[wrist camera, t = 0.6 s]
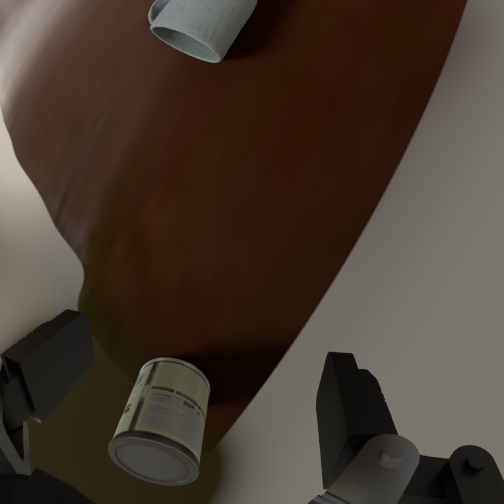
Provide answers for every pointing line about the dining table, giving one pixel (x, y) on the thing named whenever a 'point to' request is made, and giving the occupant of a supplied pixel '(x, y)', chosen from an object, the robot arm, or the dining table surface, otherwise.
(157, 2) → the ceramic mug
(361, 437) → the robot arm
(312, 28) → the dining table surface
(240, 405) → the dining table surface
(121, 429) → the coffee can
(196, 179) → the dining table surface
